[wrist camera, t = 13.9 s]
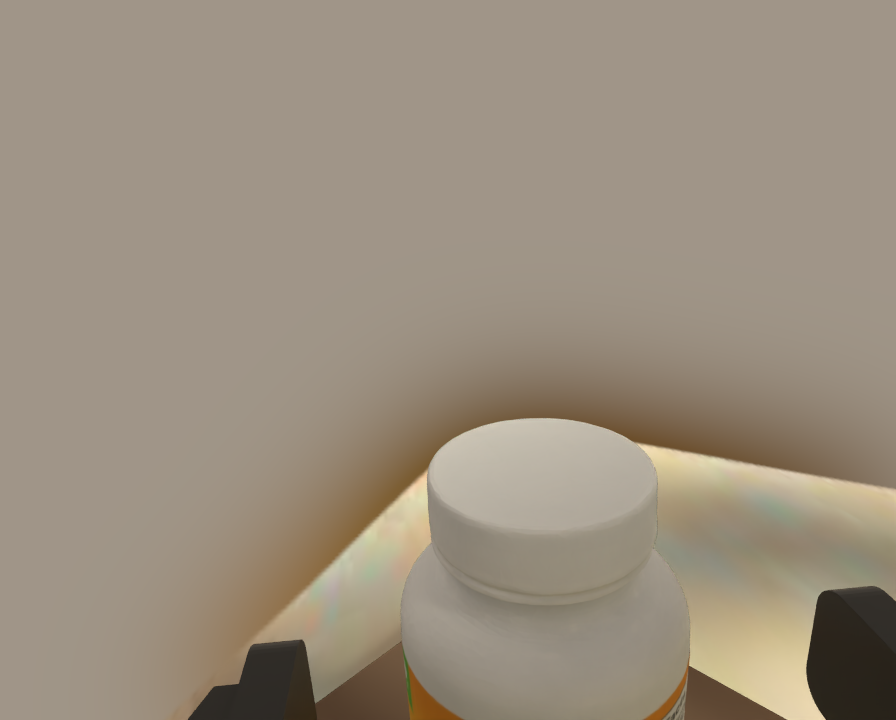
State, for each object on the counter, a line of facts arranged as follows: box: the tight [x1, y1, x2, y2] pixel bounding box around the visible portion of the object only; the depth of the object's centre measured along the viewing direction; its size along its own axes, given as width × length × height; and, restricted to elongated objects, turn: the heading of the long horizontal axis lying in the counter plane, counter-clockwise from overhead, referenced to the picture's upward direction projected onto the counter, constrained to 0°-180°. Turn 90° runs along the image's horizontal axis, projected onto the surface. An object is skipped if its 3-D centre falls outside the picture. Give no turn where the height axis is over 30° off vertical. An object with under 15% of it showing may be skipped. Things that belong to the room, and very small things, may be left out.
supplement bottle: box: [401, 418, 690, 720], centre depth 13 cm, size 5×5×10 cm
